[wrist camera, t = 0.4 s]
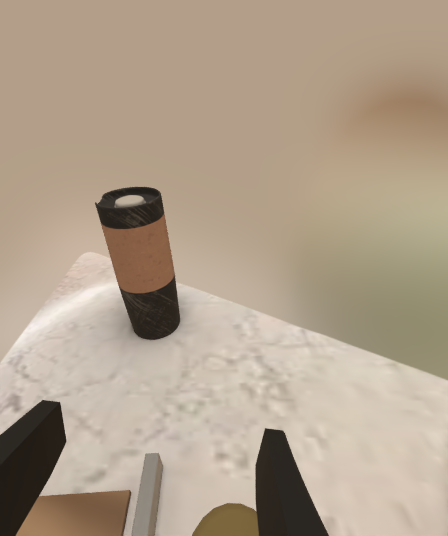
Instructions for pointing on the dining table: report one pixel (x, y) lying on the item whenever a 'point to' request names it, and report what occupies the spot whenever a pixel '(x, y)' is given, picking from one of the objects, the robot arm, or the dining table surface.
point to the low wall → (148, 496)
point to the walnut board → (78, 515)
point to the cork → (229, 522)
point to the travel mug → (141, 258)
